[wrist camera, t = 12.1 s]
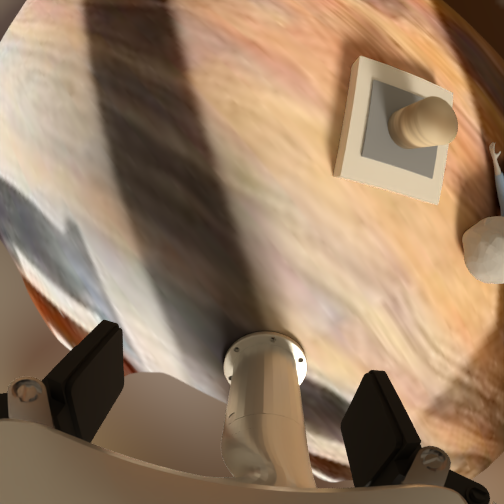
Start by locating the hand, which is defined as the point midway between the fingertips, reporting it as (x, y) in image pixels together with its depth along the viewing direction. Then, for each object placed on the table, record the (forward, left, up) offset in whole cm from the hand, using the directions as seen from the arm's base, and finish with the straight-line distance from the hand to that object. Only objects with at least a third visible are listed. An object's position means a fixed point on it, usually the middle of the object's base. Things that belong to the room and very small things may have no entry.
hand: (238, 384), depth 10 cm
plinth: (+17, -15, -30) cm, 38 cm away
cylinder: (+17, -15, -26) cm, 34 cm away
